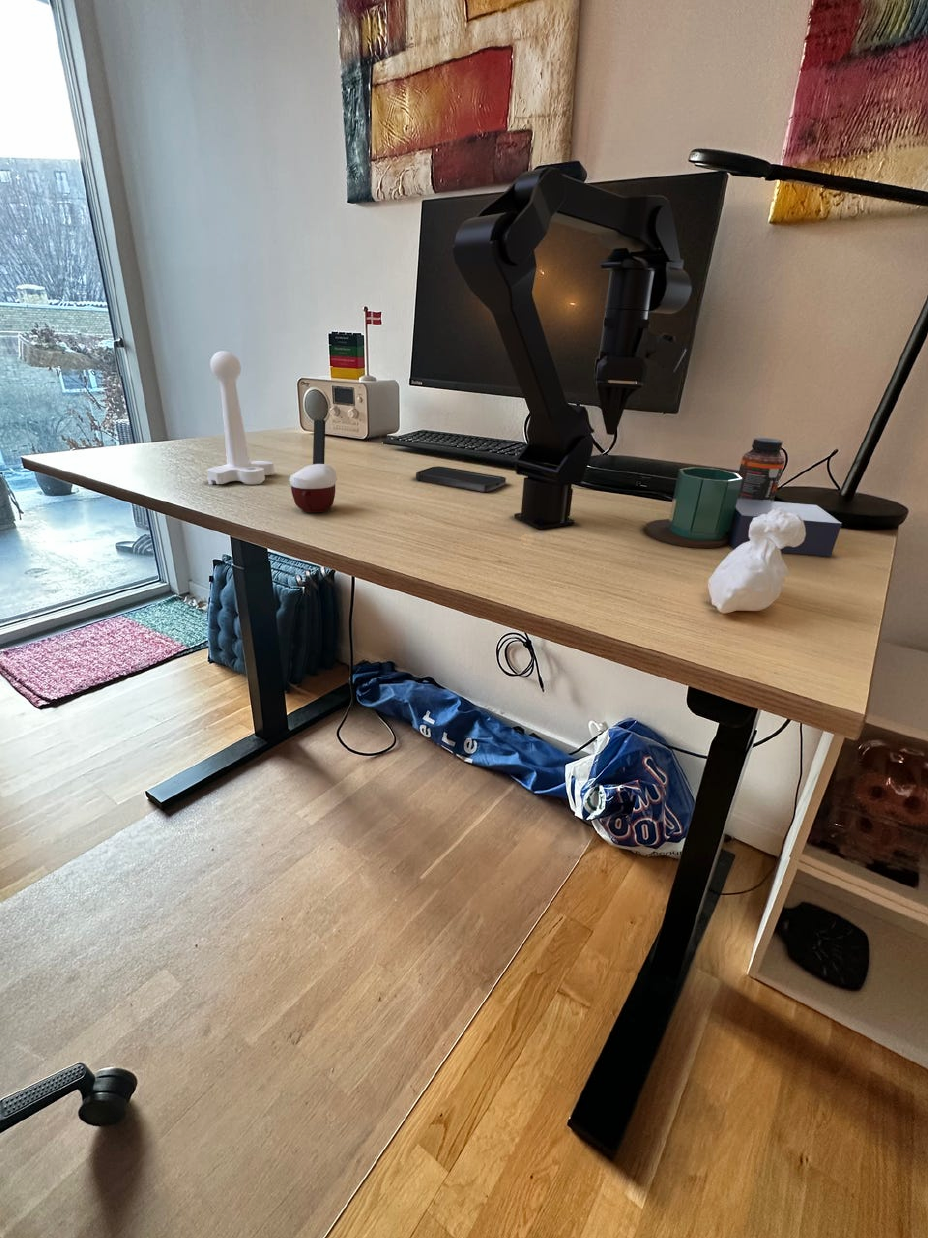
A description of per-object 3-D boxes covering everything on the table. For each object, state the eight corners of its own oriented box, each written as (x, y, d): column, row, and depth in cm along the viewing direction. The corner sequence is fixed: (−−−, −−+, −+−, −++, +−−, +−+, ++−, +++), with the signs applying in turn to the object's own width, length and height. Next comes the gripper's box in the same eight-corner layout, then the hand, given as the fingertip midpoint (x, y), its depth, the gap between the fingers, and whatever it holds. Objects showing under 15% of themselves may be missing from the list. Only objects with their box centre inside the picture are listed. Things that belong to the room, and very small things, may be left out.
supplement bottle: (774, 519, 90) (795, 444, 84) (733, 515, 91) (752, 441, 85) (764, 509, 95) (783, 437, 90) (725, 505, 96) (743, 435, 91)
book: (733, 548, 77) (741, 515, 75) (719, 528, 85) (726, 497, 82) (831, 557, 75) (842, 523, 73) (807, 535, 83) (817, 504, 81)
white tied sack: (733, 647, 57) (844, 576, 50) (679, 590, 57) (783, 513, 50) (741, 602, 66) (835, 538, 60) (694, 554, 66) (783, 485, 60)
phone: (436, 465, 109) (508, 477, 103) (436, 471, 110) (507, 483, 103) (413, 473, 103) (487, 485, 97) (413, 479, 104) (487, 492, 97)
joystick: (260, 471, 105) (245, 350, 96) (287, 478, 101) (274, 352, 92) (203, 482, 97) (181, 350, 88) (230, 490, 93) (210, 352, 84)
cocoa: (312, 520, 80) (305, 430, 75) (278, 513, 83) (268, 425, 77) (354, 505, 88) (350, 422, 83) (321, 498, 90) (315, 418, 85)
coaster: (689, 552, 74) (690, 548, 74) (628, 528, 83) (629, 524, 82) (745, 541, 79) (746, 537, 79) (682, 519, 88) (683, 515, 87)
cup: (684, 477, 74) (747, 482, 73) (676, 465, 81) (733, 469, 80) (672, 537, 78) (731, 542, 77) (665, 521, 84) (720, 526, 83)
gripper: (700, 310, 69) (674, 444, 76) (678, 314, 86) (658, 424, 93) (606, 306, 71) (588, 438, 78) (601, 311, 87) (587, 420, 94)
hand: (609, 429), depth 86 cm, fingers open, 9 cm apart
